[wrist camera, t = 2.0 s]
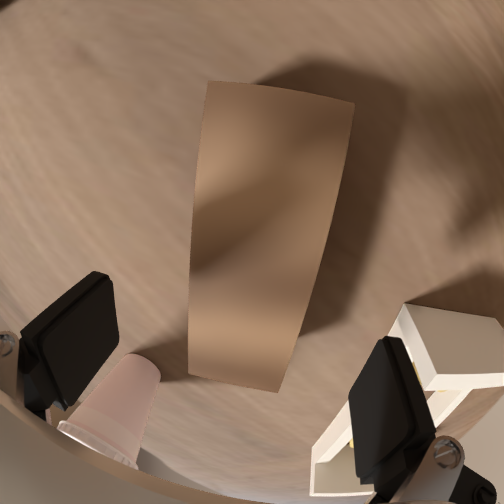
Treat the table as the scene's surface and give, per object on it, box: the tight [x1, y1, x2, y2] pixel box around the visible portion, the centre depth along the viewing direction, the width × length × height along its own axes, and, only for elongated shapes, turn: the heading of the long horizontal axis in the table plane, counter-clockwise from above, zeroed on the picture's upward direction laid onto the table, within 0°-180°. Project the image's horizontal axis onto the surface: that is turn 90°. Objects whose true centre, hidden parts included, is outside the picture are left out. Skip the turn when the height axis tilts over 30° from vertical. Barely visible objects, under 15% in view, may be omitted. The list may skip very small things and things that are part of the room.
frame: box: [310, 303, 504, 496], centre depth 16 cm, size 19×9×6 cm, turn 171°
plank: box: [188, 81, 355, 393], centre depth 13 cm, size 14×5×4 cm, turn 172°
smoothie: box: [56, 354, 161, 470], centre depth 15 cm, size 6×6×14 cm
